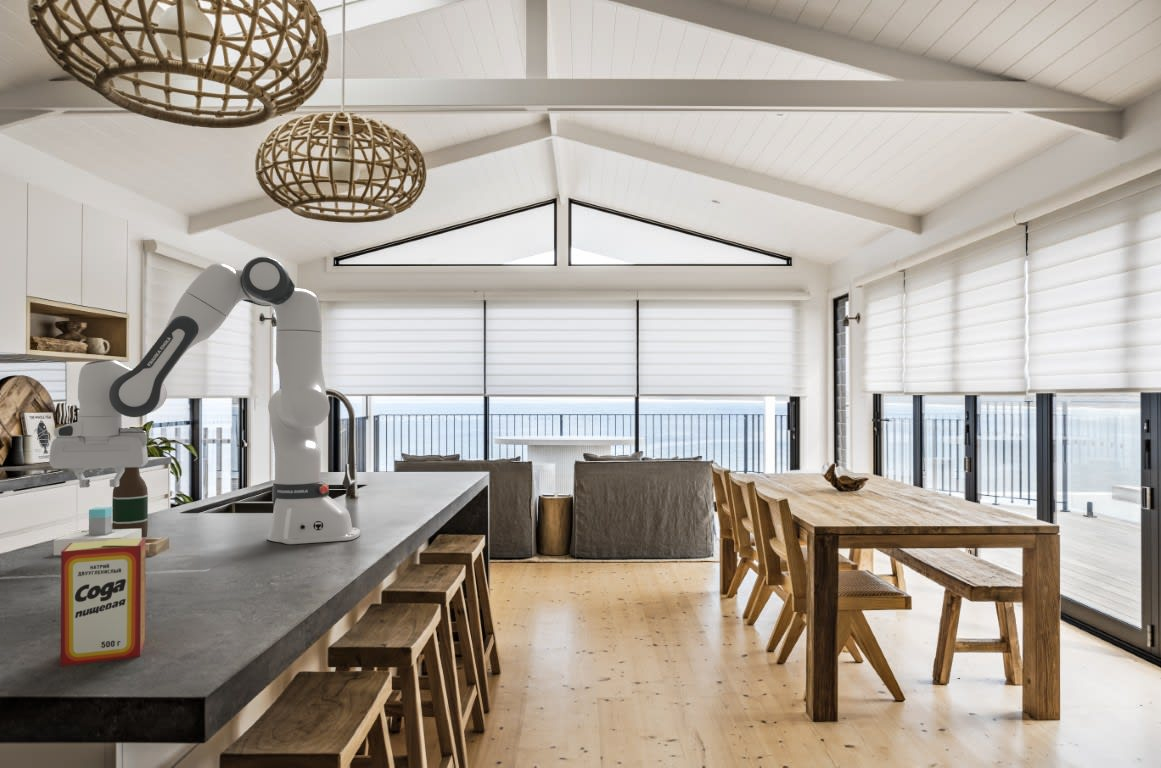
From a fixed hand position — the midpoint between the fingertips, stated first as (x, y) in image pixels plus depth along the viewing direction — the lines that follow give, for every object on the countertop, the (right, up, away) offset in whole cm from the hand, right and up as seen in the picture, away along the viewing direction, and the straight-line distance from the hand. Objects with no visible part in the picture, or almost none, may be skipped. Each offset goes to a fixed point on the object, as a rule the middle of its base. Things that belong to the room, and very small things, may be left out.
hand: (99, 487), depth 181 cm
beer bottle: (-2, -15, +15) cm, 21 cm away
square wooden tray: (+13, -15, -4) cm, 20 cm away
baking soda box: (+46, -14, -72) cm, 86 cm away
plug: (0, -14, 0) cm, 14 cm away
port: (0, -15, 0) cm, 15 cm away
